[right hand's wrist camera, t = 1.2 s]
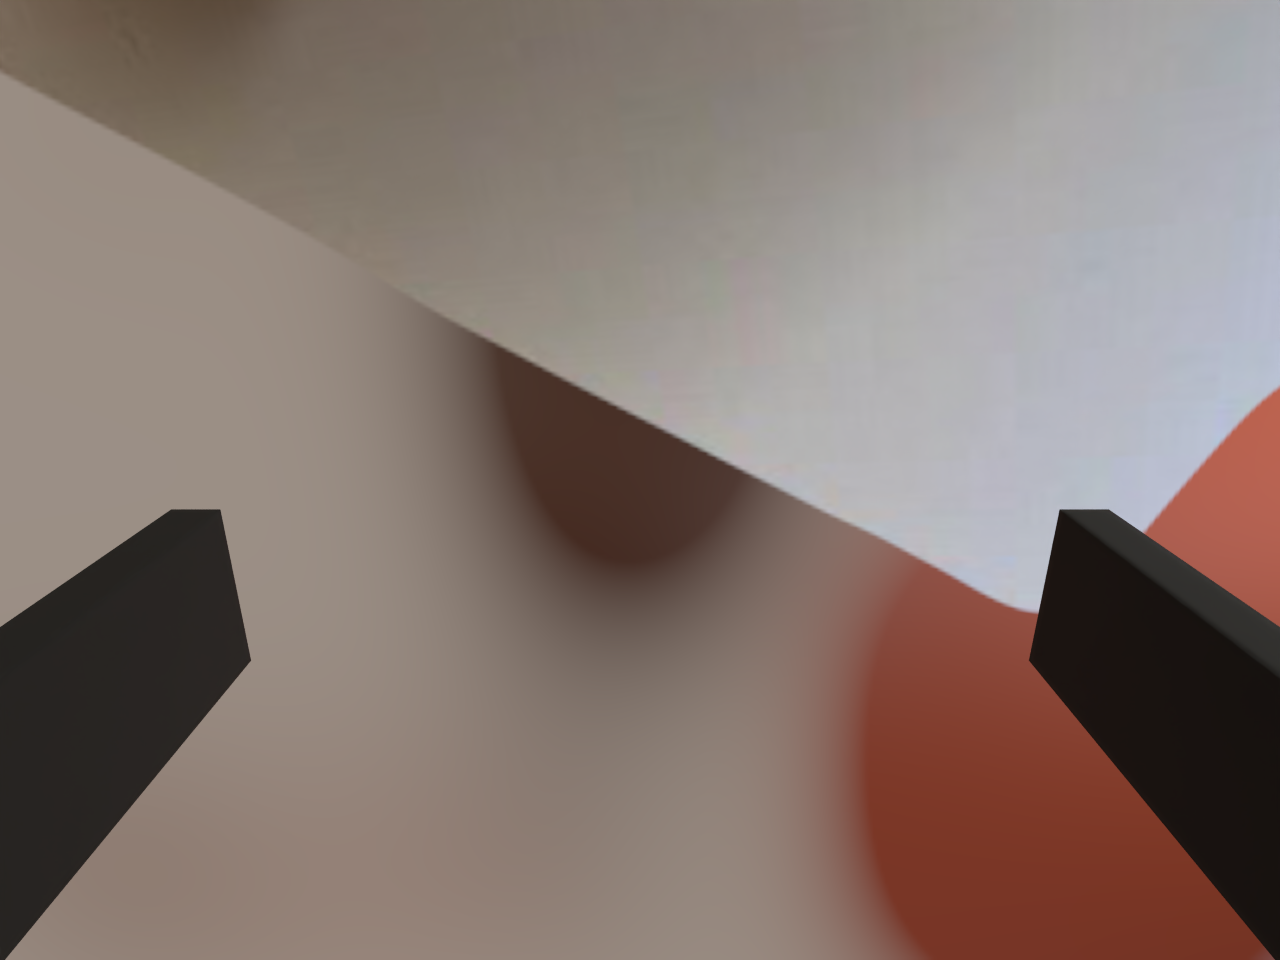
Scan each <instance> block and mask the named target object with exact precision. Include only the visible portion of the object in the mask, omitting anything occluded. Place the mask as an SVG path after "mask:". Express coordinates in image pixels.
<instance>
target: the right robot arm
mask: <svg viewBox="0 0 1280 960" xmlns="http://www.w3.org/2000/svg"><path fill="white" fill-rule="evenodd" d="M250 661H251V658H250V653H249V649H248V643H247V639H246V634H245V629H244V624H243V619H242V614H241V609H240V604H239V599H238V594H237V590H236V584H235V580H234V575H233V570H232V565H231V560H230V555H229V550H228V545H227V540H226V535H225V531H224V525H223V521H222V516H221V511H220V510H170V511H169V512H167V513H166V514H164V515H163V516H161V517H160V518H158V519H157V520H155V521H154V522H152V523H151V524H150V525H148V526H147V527H145V528H144V529H142V530H141V531H139V532H138V533H136V534H135V535H134V536H132V537H131V538H129V539H128V540H126V541H125V542H123V543H122V544H120V545H119V546H118V547H116V548H115V549H113V550H112V551H110V552H109V553H107V554H106V555H104V556H103V557H102V558H100V559H99V560H97V561H96V562H94V563H93V564H91V565H90V566H88V567H87V568H86V569H84V570H83V571H81V572H80V573H78V574H77V575H75V576H74V577H73V578H71V579H70V580H68V581H67V582H65V583H64V584H62V585H61V586H59V587H58V588H56V589H55V590H54V591H52V592H51V593H49V594H48V595H46V596H45V597H43V598H42V599H40V600H39V601H38V602H36V603H35V604H33V605H32V606H30V607H29V608H27V609H26V610H24V611H23V612H22V613H20V614H19V615H17V616H16V617H14V618H13V619H11V620H10V621H8V622H7V623H5V624H4V625H3V626H1V627H0V960H5V959H6V958H7V956H8V955H9V954H10V953H11V952H12V950H13V949H14V948H15V947H16V946H17V944H18V943H19V942H20V941H21V940H22V938H23V937H24V936H25V935H26V933H27V932H28V931H29V930H30V929H31V927H32V926H33V925H34V924H35V922H36V921H37V920H38V919H39V918H40V916H41V915H42V914H43V913H44V912H45V910H46V909H47V908H48V907H49V905H50V904H51V903H52V902H53V901H54V899H55V898H56V897H57V896H58V895H59V893H60V892H61V891H62V890H63V888H64V887H65V886H66V885H67V884H68V882H69V881H70V880H71V879H72V877H73V876H74V875H75V874H76V873H77V871H78V870H79V869H80V868H81V867H82V865H83V864H84V863H85V862H86V860H87V859H88V858H89V857H90V856H91V854H92V853H93V852H94V851H95V850H96V848H97V847H98V846H99V845H100V843H101V842H102V841H103V840H104V839H105V837H106V836H107V835H108V834H109V833H110V831H111V830H112V829H113V828H114V826H115V825H116V824H117V823H118V822H119V820H120V819H121V818H122V817H123V815H124V814H125V813H126V812H127V811H128V809H129V808H130V807H131V806H132V805H133V803H134V802H135V801H136V800H137V798H138V797H139V796H140V795H141V794H142V792H143V791H144V790H145V789H146V787H147V786H148V785H149V784H150V783H151V781H152V780H153V779H154V778H155V777H156V775H157V774H158V773H159V772H160V770H161V769H162V768H163V767H164V766H165V764H166V763H167V762H168V761H169V760H170V758H171V757H172V756H173V755H174V753H175V752H176V751H177V750H178V749H179V747H180V746H181V745H182V744H183V742H184V741H185V740H186V739H187V738H188V736H189V735H190V734H191V733H192V732H193V730H194V729H195V728H196V727H197V726H198V724H199V723H200V722H201V721H202V719H203V718H204V717H205V716H206V715H207V713H208V712H209V711H210V710H211V708H212V707H213V706H214V705H215V704H216V702H217V701H218V700H219V699H220V697H221V696H222V695H223V694H224V693H225V691H226V690H227V689H228V688H229V687H230V685H231V684H232V683H233V682H234V681H235V679H236V678H237V677H238V676H239V674H240V673H241V672H242V671H243V670H244V668H245V667H246V666H247V665H248V663H249V662H250ZM1029 661H1030V662H1031V663H1032V665H1033V666H1034V667H1035V668H1036V670H1037V671H1038V672H1039V673H1040V674H1041V676H1042V677H1043V678H1044V679H1045V681H1046V682H1047V683H1048V684H1049V685H1050V687H1051V688H1052V689H1053V690H1054V691H1055V693H1056V694H1057V695H1058V696H1059V698H1060V699H1061V700H1062V701H1063V702H1064V704H1065V705H1066V706H1067V707H1068V708H1069V710H1070V711H1071V712H1072V713H1073V715H1074V716H1075V717H1076V718H1077V719H1078V721H1079V722H1080V723H1081V724H1082V726H1083V727H1084V728H1085V729H1086V730H1087V732H1088V733H1089V734H1090V735H1091V736H1092V738H1093V739H1094V740H1095V741H1096V743H1097V744H1098V745H1099V746H1100V747H1101V749H1102V750H1103V751H1104V752H1105V753H1106V755H1107V756H1108V757H1109V758H1110V759H1111V761H1112V762H1113V763H1114V764H1115V766H1116V767H1117V768H1118V769H1119V770H1120V772H1121V773H1122V774H1123V775H1124V777H1125V778H1126V779H1127V780H1128V781H1129V783H1130V784H1131V785H1132V786H1133V788H1134V789H1135V790H1136V791H1137V792H1138V794H1139V795H1140V796H1141V797H1142V798H1143V800H1144V801H1145V802H1146V803H1147V805H1148V806H1149V807H1150V808H1151V809H1152V811H1153V812H1154V813H1155V814H1156V815H1157V817H1158V818H1159V819H1160V820H1161V822H1162V823H1163V824H1164V825H1165V826H1166V828H1167V829H1168V830H1169V831H1170V832H1171V834H1172V835H1173V836H1174V837H1175V839H1176V840H1177V841H1178V842H1179V843H1180V845H1181V846H1182V847H1183V848H1184V850H1185V851H1186V852H1187V853H1188V854H1189V856H1190V857H1191V858H1192V859H1193V860H1194V862H1195V863H1196V864H1197V865H1198V867H1199V868H1200V869H1201V870H1202V871H1203V873H1204V874H1205V875H1206V876H1207V877H1208V879H1209V880H1210V881H1211V882H1212V884H1213V885H1214V886H1215V887H1216V888H1217V890H1218V891H1219V892H1220V893H1221V895H1222V896H1223V897H1224V898H1225V899H1226V901H1227V902H1228V903H1229V904H1230V905H1231V907H1232V908H1233V909H1234V910H1235V912H1236V913H1237V914H1238V915H1239V916H1240V918H1241V919H1242V920H1243V921H1244V922H1245V924H1246V925H1247V926H1248V927H1249V929H1250V930H1251V931H1252V932H1253V933H1254V935H1255V936H1256V937H1257V938H1258V939H1259V941H1260V942H1261V943H1262V944H1263V946H1264V947H1265V948H1266V949H1267V950H1268V952H1269V953H1270V954H1271V955H1272V957H1273V958H1274V959H1275V960H1280V627H1279V626H1277V625H1276V624H1274V623H1273V622H1272V621H1270V620H1269V619H1267V618H1266V617H1264V616H1263V615H1261V614H1260V613H1258V612H1257V611H1256V610H1254V609H1253V608H1251V607H1250V606H1248V605H1247V604H1245V603H1244V602H1242V601H1241V600H1240V599H1238V598H1237V597H1235V596H1234V595H1232V594H1231V593H1229V592H1228V591H1226V590H1225V589H1224V588H1222V587H1221V586H1219V585H1218V584H1216V583H1215V582H1213V581H1212V580H1210V579H1209V578H1208V577H1206V576H1205V575H1203V574H1202V573H1200V572H1199V571H1197V570H1196V569H1194V568H1193V567H1192V566H1190V565H1189V564H1187V563H1186V562H1184V561H1183V560H1181V559H1180V558H1178V557H1177V556H1176V555H1174V554H1173V553H1171V552H1170V551H1168V550H1167V549H1165V548H1164V547H1162V546H1161V545H1160V544H1158V543H1157V542H1155V541H1154V540H1152V539H1151V538H1149V537H1148V536H1146V535H1145V534H1144V533H1142V532H1141V531H1139V530H1138V529H1136V528H1135V527H1133V526H1132V525H1130V524H1129V523H1128V522H1126V521H1125V520H1123V519H1122V518H1120V517H1119V516H1117V515H1116V514H1114V513H1113V512H1112V511H1110V510H1060V511H1059V516H1058V520H1057V525H1056V530H1055V535H1054V540H1053V545H1052V550H1051V555H1050V560H1049V565H1048V570H1047V575H1046V579H1045V584H1044V589H1043V594H1042V599H1041V604H1040V609H1039V614H1038V619H1037V624H1036V629H1035V634H1034V638H1033V643H1032V648H1031V653H1030V658H1029Z"/></svg>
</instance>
